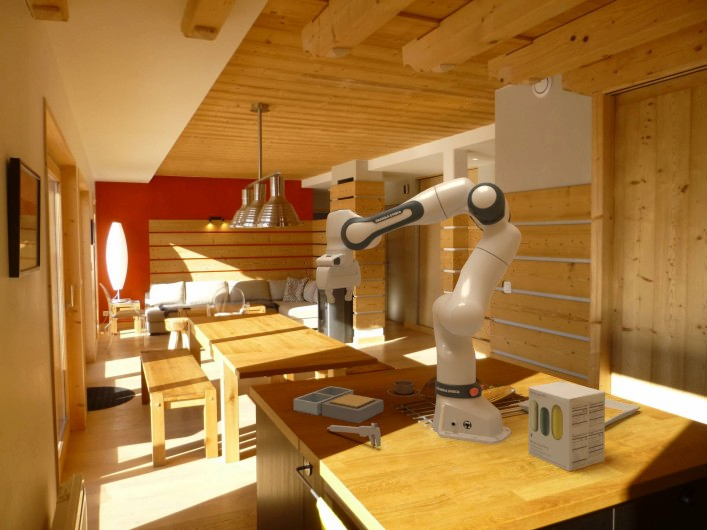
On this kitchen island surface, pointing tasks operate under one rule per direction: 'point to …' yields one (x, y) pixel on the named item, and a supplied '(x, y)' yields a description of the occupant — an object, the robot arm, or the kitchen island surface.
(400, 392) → the place setting
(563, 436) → the supplement box
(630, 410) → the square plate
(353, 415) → the square frame
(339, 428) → the caliper
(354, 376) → the kitchen island surface
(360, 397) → the button
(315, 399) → the tray
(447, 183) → the robot arm
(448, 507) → the kitchen island surface
